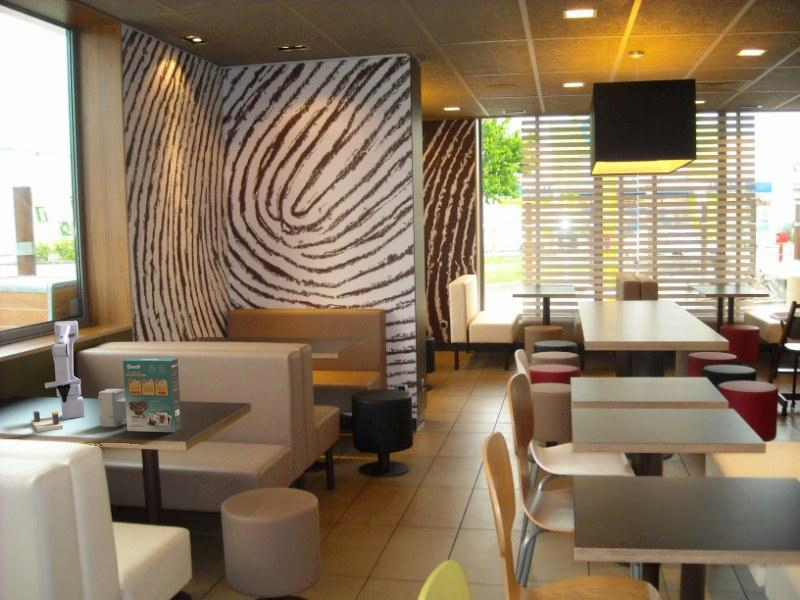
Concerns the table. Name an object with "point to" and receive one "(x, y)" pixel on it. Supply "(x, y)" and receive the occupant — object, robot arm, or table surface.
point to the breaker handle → (55, 417)
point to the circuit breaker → (112, 407)
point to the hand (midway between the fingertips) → (64, 402)
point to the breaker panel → (44, 423)
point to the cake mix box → (152, 394)
